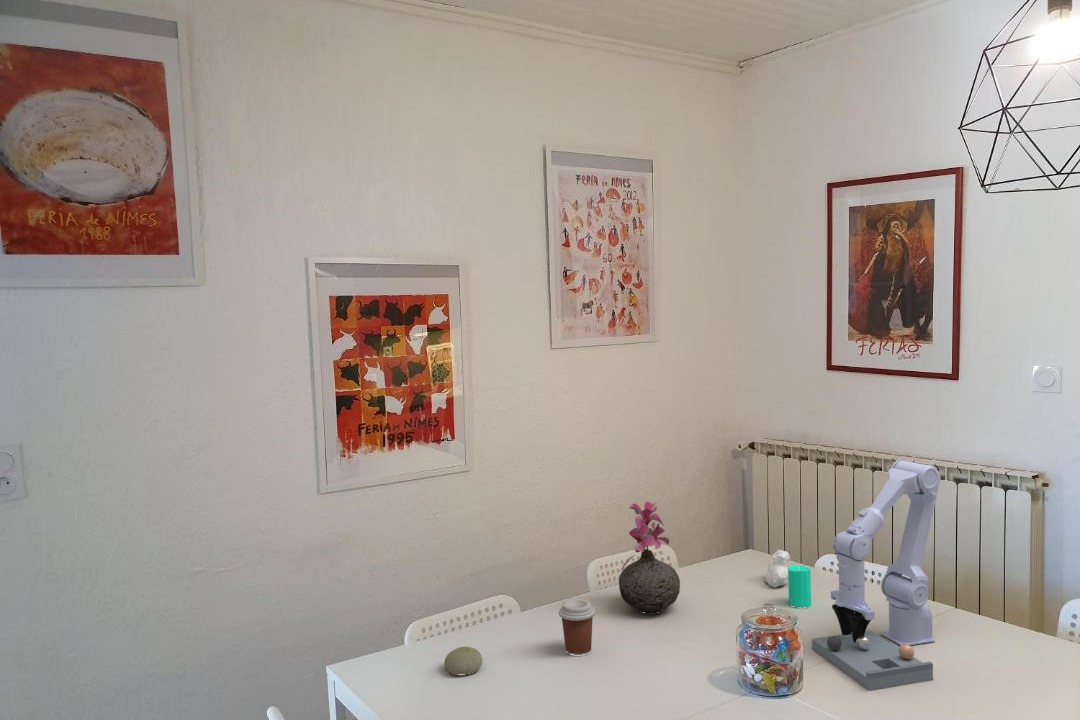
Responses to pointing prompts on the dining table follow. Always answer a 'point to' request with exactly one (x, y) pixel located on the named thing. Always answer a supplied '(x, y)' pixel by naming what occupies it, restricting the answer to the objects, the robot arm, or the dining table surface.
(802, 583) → the candle
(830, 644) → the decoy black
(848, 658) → the board
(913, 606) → the robot arm
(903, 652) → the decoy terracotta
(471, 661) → the sea urchin shell
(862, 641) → the steel ball
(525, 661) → the dining table surface
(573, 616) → the coffee cup
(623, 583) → the vase
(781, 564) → the bust
